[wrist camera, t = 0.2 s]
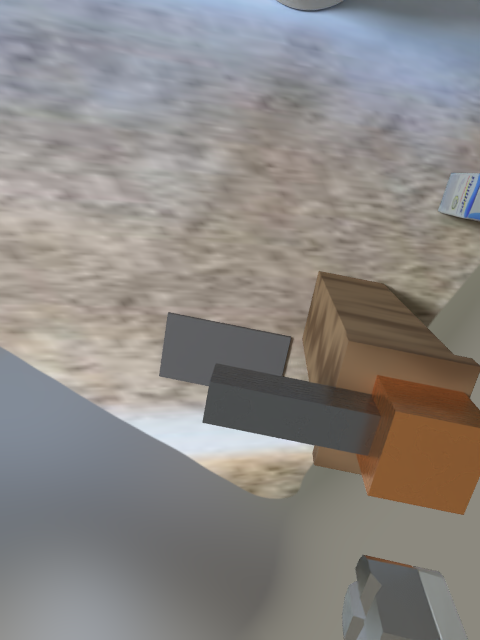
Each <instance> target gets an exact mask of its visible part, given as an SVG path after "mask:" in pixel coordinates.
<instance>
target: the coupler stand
mask: <svg viewBox="0 0 480 640" xmlns="http://www.w3.org/2000/svg"><path fill="white" fill-rule="evenodd" d="M302 340H303V346H304V352H305V358H306V364H307V370H308V376H309V382H313V383H318V384H323V385H328V386H333V387H338V388H343V389H348V390H353V391H358V392H362V393H367V394H372V390H373V387H374V384H375V381H376V377H377V375H380V376H385V377H390V378H395V379H400V380H405V381H410V382H415V383H420V384H425V385H430V386H435V387H440V388H445V389H450V390H455V391H460V392H464V393H465V394H466V395H467V396H468V397H469V398H470V396H471V393H472V391H473V388H474V386H475V383H476V380H477V378H478V375H479V373H480V365H479V364H478V363H476V362H475V361H474V360H473V359H472V358H467V357H462V356H457V355H454V354H453V353H452V352H451V351H450V350H449V349H448V348H447V347H446V346H445V345H444V344H443V343H442V342H441V341H440V340H439V339H438V338H437V337H436V336H435V335H434V334H433V333H432V332H431V331H430V330H429V329H428V328H427V327H426V326H425V325H424V324H423V323H422V322H421V321H420V320H419V319H418V318H417V317H416V316H415V315H414V314H413V313H412V312H411V311H410V310H409V309H408V308H407V307H406V306H405V305H404V304H403V303H402V302H401V301H400V300H399V299H398V298H397V297H396V296H395V295H394V294H393V293H392V292H391V291H390V290H389V289H388V288H387V287H386V286H385V285H384V284H382V283H377V282H372V281H367V280H362V279H356V278H351V277H346V276H341V275H336V274H331V273H326V272H321V271H319V273H318V277H317V281H316V285H315V289H314V293H313V297H312V301H311V306H310V310H309V314H308V318H307V322H306V326H305V330H304V334H303V338H302ZM313 461H314V465H316V466H321V467H327V468H331V469H336V470H341V471H346V472H351V473H355V474H360V475H362V474H361V470H360V467H359V463H358V460H357V456H356V454H355V453H350V452H345V451H340V450H335V449H331V448H326V447H321V446H316V445H315V446H314V450H313Z"/></svg>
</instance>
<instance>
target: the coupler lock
mask: <svg viewBox="0 0 480 640" xmlns="http://www.w3.org/2000/svg"><path fill="white" fill-rule="evenodd" d="M202 423H207V424H212V425H217V426H222V427H227V428H232V429H237V430H242V431H247V432H252V433H256V434H261V435H266V436H271V437H276V438H281V439H286V440H291V441H296V442H301V443H306V444H311V445H316V446H321V447H326V448H331V449H335V450H340V451H345V452H350V453H355V454H356V456H357V460H358V463H359V467H360V470H361V474H362V477H363V480H364V484H365V488H366V491H367V494H368V496H373V497H378V498H383V499H388V500H393V501H397V502H403V503H408V504H413V505H417V506H422V507H427V508H432V509H437V510H442V511H446V512H451V513H457V514H461V515H464V512H465V510H466V508H467V505H468V503H469V501H470V498H471V496H472V494H473V491H474V489H475V486H476V484H477V482H478V479H479V477H480V410H479V409H478V408H477V407H476V406H475V404H474V403H473V402H472V401H471V400H470V398H469V397H468V396H467V395H466V394H465V393H464V392H460V391H455V390H450V389H445V388H440V387H435V386H430V385H425V384H420V383H415V382H410V381H405V380H400V379H395V378H390V377H385V376H380V375H377V377H376V381H375V384H374V387H373V390H372V394H367V393H362V392H358V391H353V390H348V389H343V388H338V387H333V386H328V385H323V384H318V383H313V382H308V381H303V380H298V379H293V378H288V377H283V376H278V375H273V374H268V373H263V372H258V371H253V370H248V369H243V368H238V367H233V366H228V365H223V364H218V363H216V364H215V367H214V370H213V373H212V376H211V380H210V384H209V389H208V395H207V400H206V406H205V411H204V417H203V422H202Z"/></svg>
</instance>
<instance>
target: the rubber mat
mask: <svg viewBox="0 0 480 640" xmlns="http://www.w3.org/2000/svg"><path fill="white" fill-rule="evenodd" d="M290 340H291V337H290V336H285V335H280V334H275V333H270V332H265V331H260V330H255V329H250V328H245V327H240V326H235V325H230V324H225V323H220V322H215V321H210V320H205V319H199V318H194V317H189V316H184V315H179V314H174V313H168V317H167V324H166V331H165V338H164V345H163V352H162V359H161V367H160V374H159V376H161V377H166V378H171V379H176V380H181V381H186V382H191V383H196V384H200V385H205V386H209V384H210V380H211V376H212V373H213V370H214V367H215V364H216V363H218V364H223V365H228V366H233V367H238V368H243V369H248V370H253V371H258V372H263V373H268V374H273V375H278V376H282V374H283V369H284V365H285V361H286V357H287V352H288V348H289V344H290Z"/></svg>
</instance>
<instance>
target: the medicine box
mask: <svg viewBox="0 0 480 640" xmlns="http://www.w3.org/2000/svg"><path fill="white" fill-rule="evenodd" d="M438 211H439V212H441V213H444V214H448V215H453V216H456V217H460V218H464V219H469V220H474V221H479V222H480V173H451V175H450V178H449V181H448V184H447V186H446V189H445V192H444V195H443V198H442V201H441V204H440V207H439V210H438Z"/></svg>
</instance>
